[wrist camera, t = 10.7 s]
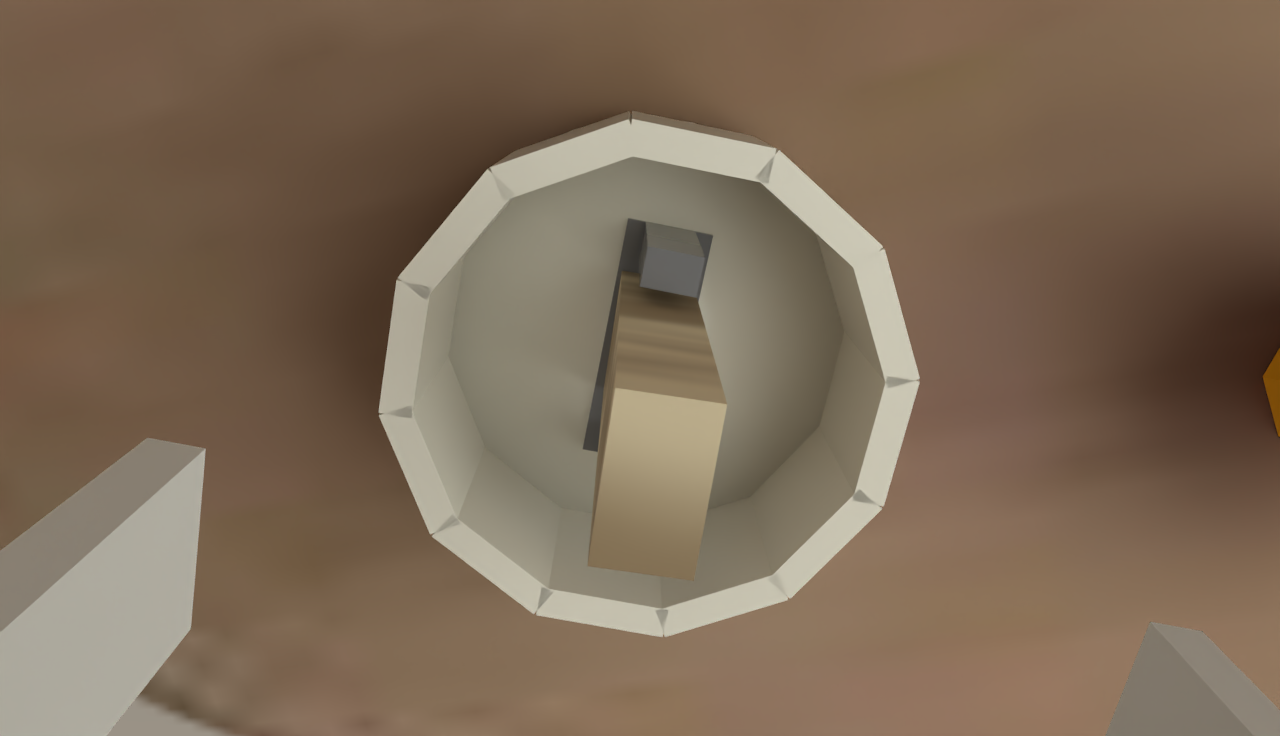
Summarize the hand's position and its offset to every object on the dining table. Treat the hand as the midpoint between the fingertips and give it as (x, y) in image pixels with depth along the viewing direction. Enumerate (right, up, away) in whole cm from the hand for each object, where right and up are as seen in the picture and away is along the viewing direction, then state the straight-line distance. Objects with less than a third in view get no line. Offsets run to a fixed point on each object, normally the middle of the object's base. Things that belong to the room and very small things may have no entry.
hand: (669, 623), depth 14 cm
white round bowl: (0, +4, +16) cm, 16 cm away
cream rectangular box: (0, +4, +15) cm, 16 cm away
